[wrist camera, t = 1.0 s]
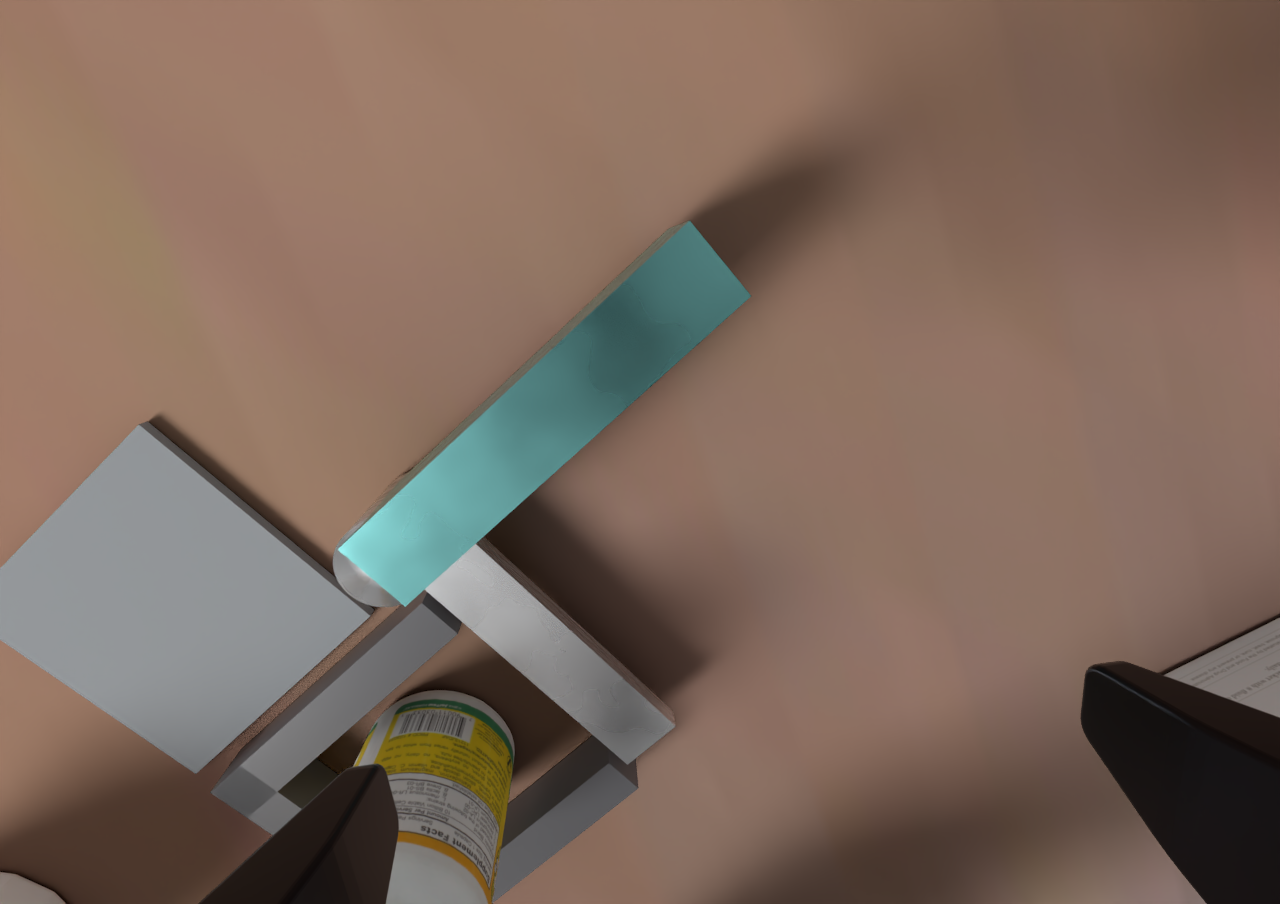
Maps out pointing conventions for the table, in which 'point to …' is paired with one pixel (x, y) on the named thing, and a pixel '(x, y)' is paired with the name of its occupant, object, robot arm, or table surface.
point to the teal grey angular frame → (523, 460)
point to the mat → (170, 601)
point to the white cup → (25, 891)
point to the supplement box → (1241, 670)
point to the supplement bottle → (444, 794)
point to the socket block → (287, 747)
